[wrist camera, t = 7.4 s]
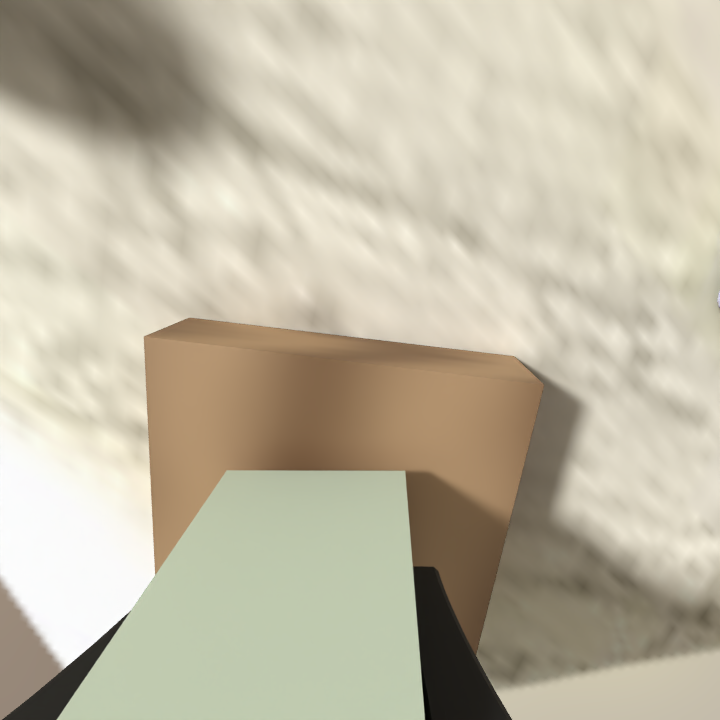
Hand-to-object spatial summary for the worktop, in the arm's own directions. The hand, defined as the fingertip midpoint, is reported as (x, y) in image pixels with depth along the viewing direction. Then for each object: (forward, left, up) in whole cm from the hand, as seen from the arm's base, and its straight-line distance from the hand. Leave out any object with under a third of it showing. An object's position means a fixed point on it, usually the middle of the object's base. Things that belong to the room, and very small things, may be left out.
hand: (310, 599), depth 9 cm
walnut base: (0, 0, -5) cm, 5 cm away
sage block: (0, 0, -2) cm, 2 cm away
